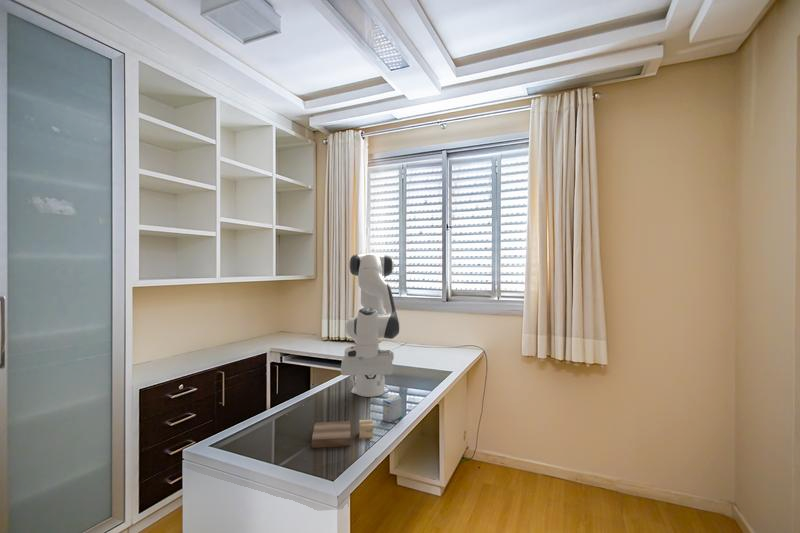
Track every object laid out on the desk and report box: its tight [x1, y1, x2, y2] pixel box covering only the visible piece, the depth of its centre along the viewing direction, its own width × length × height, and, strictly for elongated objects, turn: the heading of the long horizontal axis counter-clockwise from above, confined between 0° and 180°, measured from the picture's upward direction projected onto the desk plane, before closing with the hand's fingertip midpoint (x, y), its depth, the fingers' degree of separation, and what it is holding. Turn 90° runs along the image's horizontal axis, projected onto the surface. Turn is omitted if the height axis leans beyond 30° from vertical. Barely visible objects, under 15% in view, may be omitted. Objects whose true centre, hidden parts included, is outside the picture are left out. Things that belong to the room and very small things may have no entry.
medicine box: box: [382, 394, 403, 423], centre depth 161 cm, size 8×4×9 cm, turn 141°
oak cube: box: [358, 419, 374, 439], centre depth 146 cm, size 5×5×5 cm
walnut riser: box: [311, 420, 352, 449], centre depth 143 cm, size 14×14×3 cm
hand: (366, 385), depth 145 cm, fingers open, 8 cm apart
